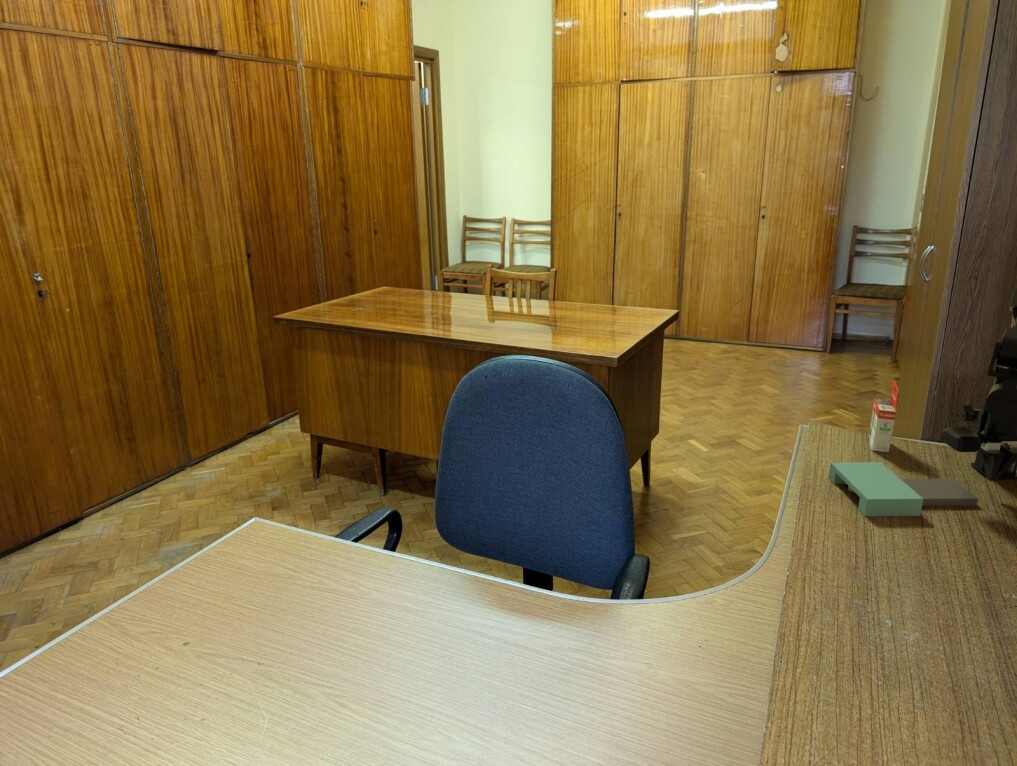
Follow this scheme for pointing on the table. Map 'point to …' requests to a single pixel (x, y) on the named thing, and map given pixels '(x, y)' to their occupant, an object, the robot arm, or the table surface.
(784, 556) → the table surface
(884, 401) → the ink box
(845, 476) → the overhang
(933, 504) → the thin grey plate
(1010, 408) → the robot arm
